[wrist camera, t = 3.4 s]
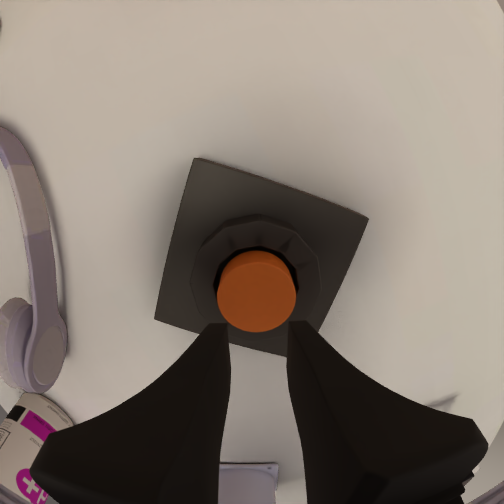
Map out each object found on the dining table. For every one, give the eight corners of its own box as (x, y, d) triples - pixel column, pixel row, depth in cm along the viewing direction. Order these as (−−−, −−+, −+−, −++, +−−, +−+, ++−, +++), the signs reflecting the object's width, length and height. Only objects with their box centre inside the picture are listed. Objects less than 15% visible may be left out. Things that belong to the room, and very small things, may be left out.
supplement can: (68, 403, 23) (12, 506, 8) (85, 443, 25) (47, 531, 11) (16, 379, 22) (-44, 461, 8) (36, 421, 25) (-7, 496, 10)
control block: (160, 306, 19) (145, 335, 15) (199, 157, 16) (186, 156, 12) (299, 346, 20) (307, 378, 16) (359, 212, 17) (383, 226, 13)
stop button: (212, 303, 15) (208, 320, 13) (232, 240, 14) (229, 252, 12) (276, 321, 15) (279, 340, 14) (301, 262, 14) (308, 276, 13)
